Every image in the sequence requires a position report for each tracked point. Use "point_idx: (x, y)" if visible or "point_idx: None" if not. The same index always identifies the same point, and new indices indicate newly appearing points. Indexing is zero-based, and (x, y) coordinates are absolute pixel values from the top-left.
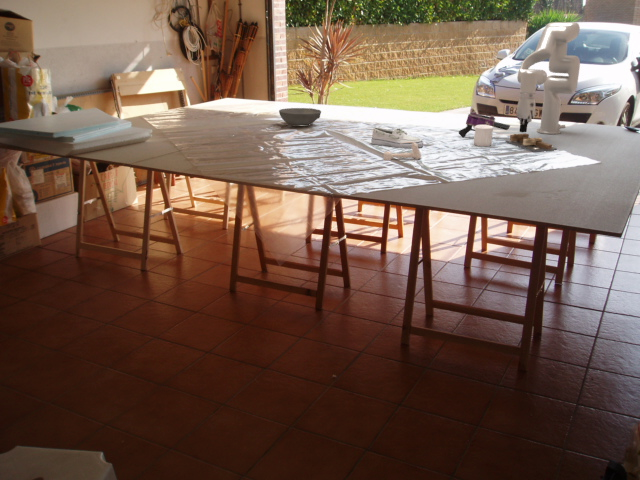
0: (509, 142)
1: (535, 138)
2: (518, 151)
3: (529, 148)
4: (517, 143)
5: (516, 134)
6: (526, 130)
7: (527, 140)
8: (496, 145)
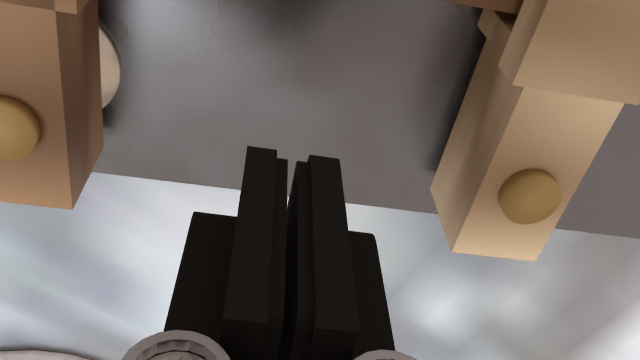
0: (96, 164)
1: (603, 31)
2: (537, 322)
3: (623, 229)
4: None
5: (30, 121)
6: (338, 180)
7: (543, 231)
8: (145, 331)
